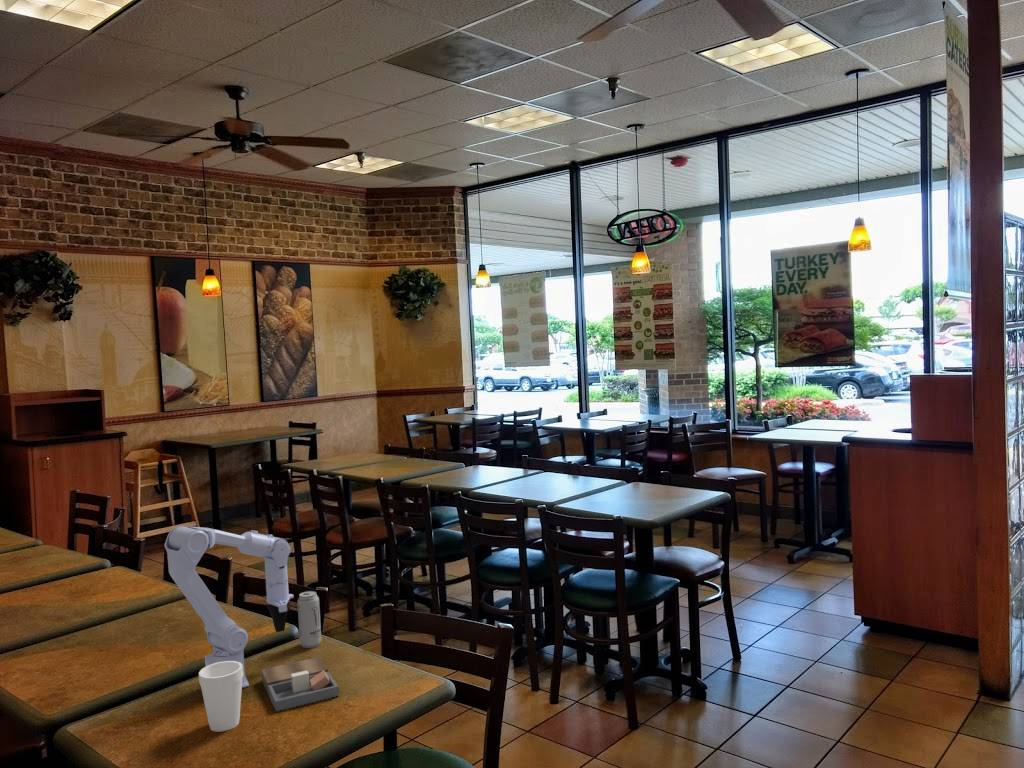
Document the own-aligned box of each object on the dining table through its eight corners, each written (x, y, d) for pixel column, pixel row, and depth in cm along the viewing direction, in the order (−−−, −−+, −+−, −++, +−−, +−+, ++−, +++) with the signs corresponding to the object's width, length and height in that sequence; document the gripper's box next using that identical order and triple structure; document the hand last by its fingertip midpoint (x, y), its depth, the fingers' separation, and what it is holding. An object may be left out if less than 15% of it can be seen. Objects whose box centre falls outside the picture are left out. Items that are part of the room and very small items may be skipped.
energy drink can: (315, 649, 219) (312, 597, 219) (296, 648, 221) (293, 597, 220) (325, 641, 225) (322, 590, 225) (306, 640, 226) (303, 590, 226)
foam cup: (210, 716, 181) (206, 662, 180) (250, 713, 182) (246, 659, 181) (197, 736, 171) (193, 679, 171) (239, 733, 172) (235, 676, 171)
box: (276, 711, 182) (275, 701, 182) (268, 695, 191) (268, 685, 191) (338, 696, 188) (338, 686, 188) (328, 681, 198) (328, 671, 197)
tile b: (316, 692, 190) (311, 686, 189) (314, 685, 194) (310, 679, 193) (330, 682, 191) (325, 676, 191) (328, 675, 195) (323, 669, 194)
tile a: (291, 689, 192) (293, 692, 190) (290, 674, 192) (292, 676, 190) (308, 685, 194) (309, 688, 192) (307, 670, 194) (308, 673, 192)
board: (268, 694, 191) (267, 683, 191) (262, 680, 199) (261, 669, 199) (328, 680, 198) (328, 669, 198) (320, 667, 206) (319, 656, 206)
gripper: (297, 585, 204) (300, 635, 204) (286, 572, 217) (289, 619, 217) (270, 590, 201) (273, 641, 201) (260, 576, 213) (263, 624, 214)
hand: (279, 630), depth 209 cm, fingers closed
